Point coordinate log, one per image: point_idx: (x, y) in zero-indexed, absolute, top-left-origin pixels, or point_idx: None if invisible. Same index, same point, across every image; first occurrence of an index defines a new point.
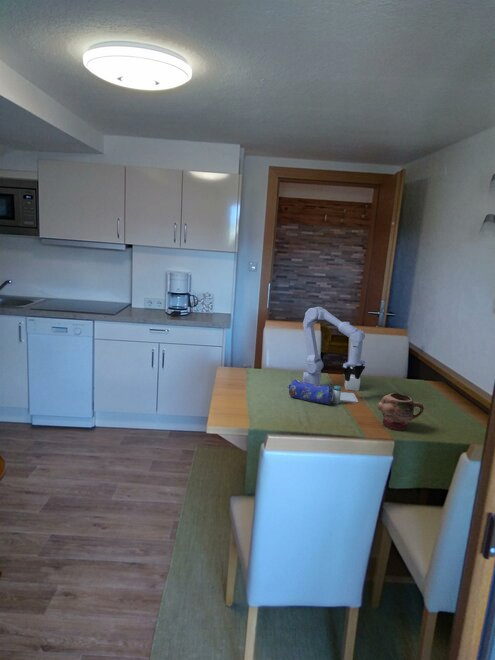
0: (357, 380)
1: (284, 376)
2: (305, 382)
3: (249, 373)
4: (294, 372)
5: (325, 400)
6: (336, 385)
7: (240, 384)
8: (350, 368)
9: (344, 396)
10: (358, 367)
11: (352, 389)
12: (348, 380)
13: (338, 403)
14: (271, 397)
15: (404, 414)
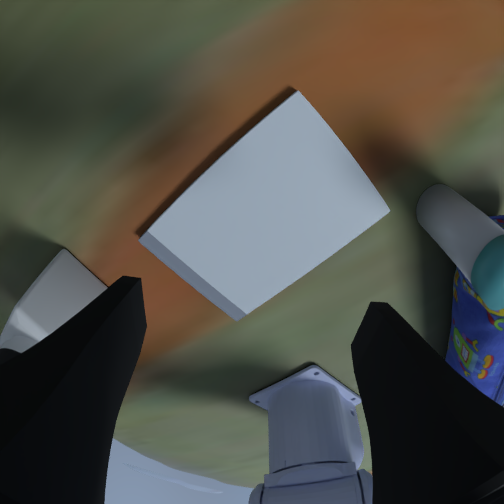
0: (40, 311)
1: (265, 465)
2: (500, 400)
3: None
4: (195, 466)
5: None
6: (489, 307)
7: None
8: (474, 502)
9: (286, 234)
10: (70, 483)
11: (95, 282)
12: (395, 311)
13: (448, 187)
14: None
15: None
